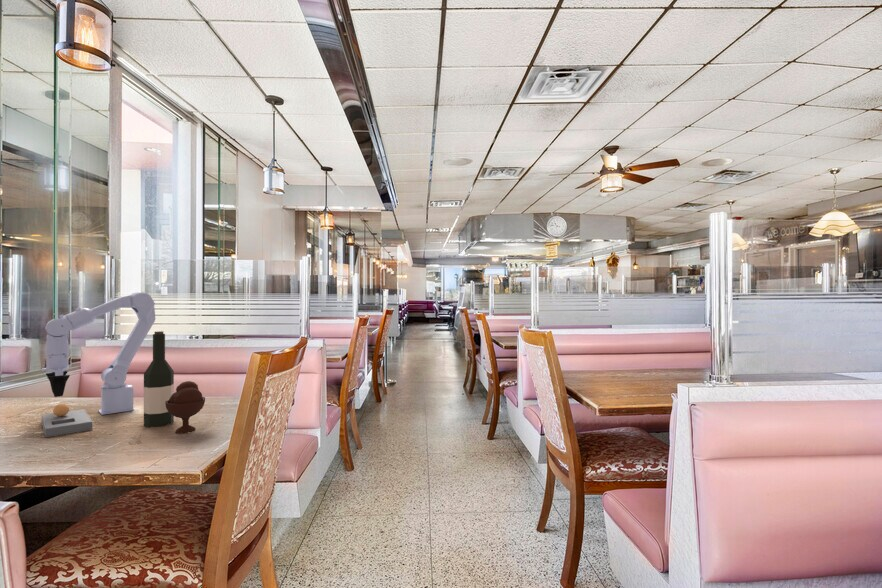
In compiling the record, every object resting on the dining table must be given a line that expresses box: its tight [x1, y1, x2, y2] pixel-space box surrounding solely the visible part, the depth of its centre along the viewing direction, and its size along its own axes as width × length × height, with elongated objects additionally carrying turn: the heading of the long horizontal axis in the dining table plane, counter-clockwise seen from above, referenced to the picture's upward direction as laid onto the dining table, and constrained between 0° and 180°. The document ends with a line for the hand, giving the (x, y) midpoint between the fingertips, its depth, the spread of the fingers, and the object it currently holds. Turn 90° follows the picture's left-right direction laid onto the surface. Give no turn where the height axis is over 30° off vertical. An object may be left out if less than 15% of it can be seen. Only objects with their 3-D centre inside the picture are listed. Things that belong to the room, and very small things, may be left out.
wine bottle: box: [143, 330, 175, 428], centre depth 146 cm, size 8×8×30 cm
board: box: [41, 408, 93, 438], centre depth 144 cm, size 11×22×2 cm, turn 44°
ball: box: [52, 403, 70, 417], centre depth 146 cm, size 4×4×4 cm
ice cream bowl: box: [165, 380, 206, 434], centre depth 138 cm, size 11×11×15 cm
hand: (57, 394), depth 152 cm, fingers open, 7 cm apart
